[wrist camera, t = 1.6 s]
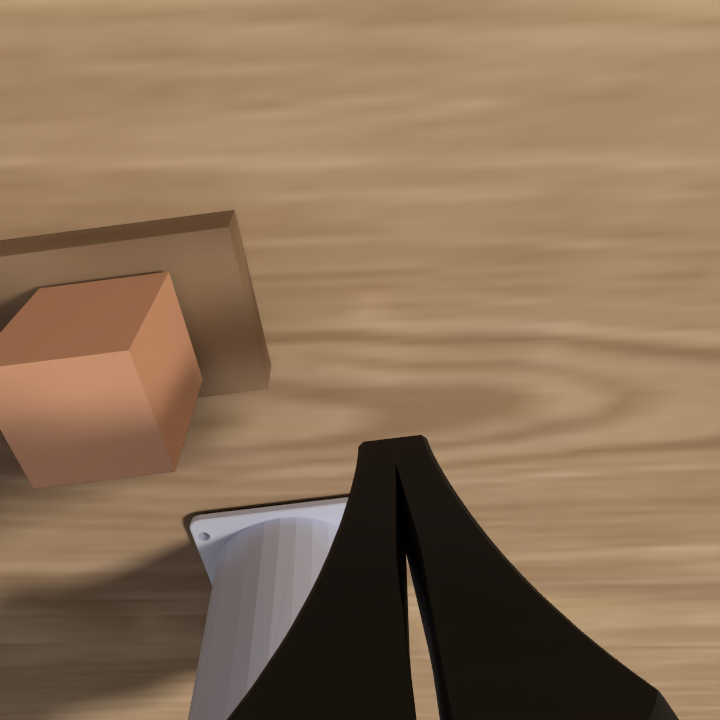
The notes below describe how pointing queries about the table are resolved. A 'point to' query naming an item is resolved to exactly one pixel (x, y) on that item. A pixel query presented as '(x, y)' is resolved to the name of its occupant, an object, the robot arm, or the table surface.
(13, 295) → the track
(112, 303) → the slider
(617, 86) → the table surface
